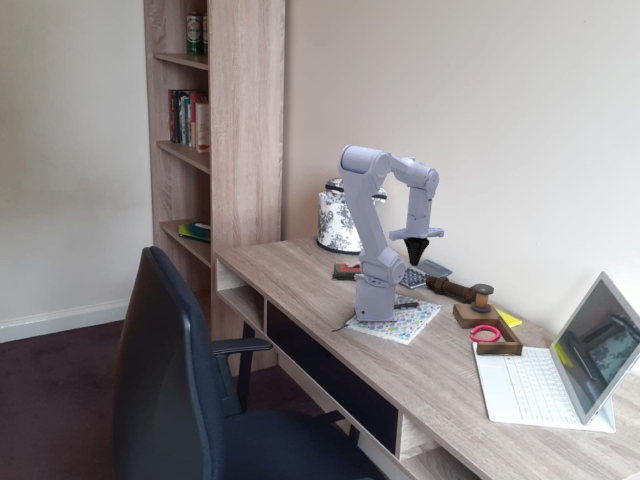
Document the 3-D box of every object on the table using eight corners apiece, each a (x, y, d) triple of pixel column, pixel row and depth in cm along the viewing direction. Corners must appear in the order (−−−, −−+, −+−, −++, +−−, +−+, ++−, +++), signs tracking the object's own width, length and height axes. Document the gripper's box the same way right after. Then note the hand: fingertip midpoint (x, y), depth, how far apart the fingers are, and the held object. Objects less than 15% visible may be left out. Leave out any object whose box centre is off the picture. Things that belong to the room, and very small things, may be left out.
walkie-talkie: (333, 284, 163) (404, 284, 165) (333, 269, 161) (405, 269, 163) (329, 272, 171) (397, 272, 173) (330, 257, 169) (398, 258, 172)
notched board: (477, 354, 129) (479, 344, 128) (452, 312, 148) (453, 303, 147) (521, 355, 130) (523, 345, 129) (490, 313, 149) (492, 304, 148)
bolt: (428, 292, 164) (476, 309, 154) (419, 288, 160) (468, 305, 150) (436, 273, 165) (484, 288, 154) (427, 268, 161) (476, 284, 151)
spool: (473, 312, 143) (477, 291, 141) (468, 304, 148) (471, 283, 146) (493, 313, 143) (496, 292, 142) (486, 304, 148) (490, 283, 146)
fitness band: (481, 327, 142) (481, 321, 142) (504, 336, 139) (505, 330, 138) (465, 339, 136) (466, 333, 136) (488, 348, 133) (489, 342, 132)
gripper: (399, 220, 142) (394, 272, 147) (452, 217, 147) (446, 268, 151) (387, 211, 148) (382, 262, 153) (438, 209, 153) (432, 258, 157)
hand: (413, 264), depth 152 cm, fingers closed
